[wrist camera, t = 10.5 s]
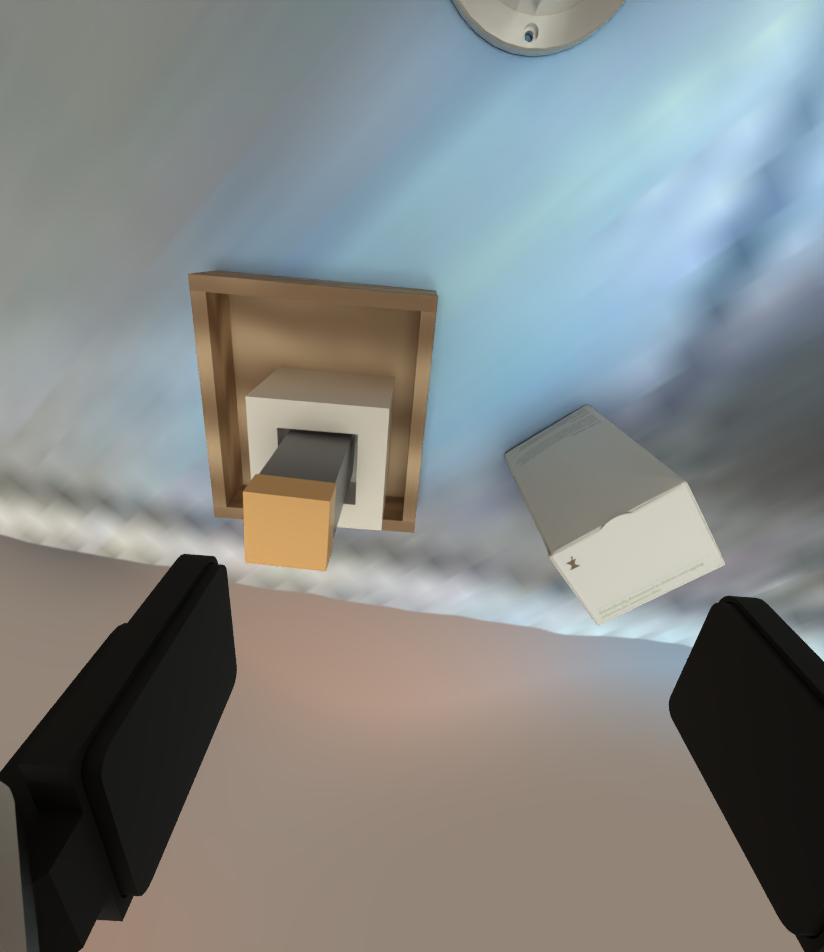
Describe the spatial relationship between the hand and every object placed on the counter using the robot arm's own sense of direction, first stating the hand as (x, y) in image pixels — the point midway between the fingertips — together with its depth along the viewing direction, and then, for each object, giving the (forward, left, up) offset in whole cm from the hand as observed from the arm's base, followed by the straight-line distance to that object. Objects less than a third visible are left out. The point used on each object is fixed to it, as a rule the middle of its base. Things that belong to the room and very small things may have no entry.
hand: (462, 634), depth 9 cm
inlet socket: (+7, -7, -30) cm, 31 cm away
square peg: (+7, -7, -25) cm, 27 cm away
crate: (+5, -8, -30) cm, 32 cm away
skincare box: (+8, +12, -31) cm, 34 cm away
